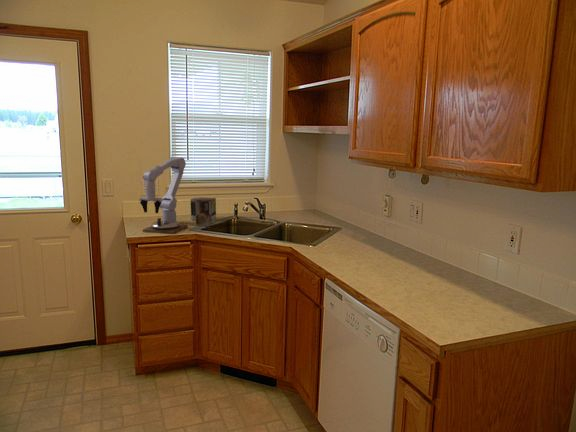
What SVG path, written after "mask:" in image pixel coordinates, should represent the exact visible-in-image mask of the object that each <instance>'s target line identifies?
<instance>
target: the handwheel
mask: <svg viewBox="0 0 576 432" xmlns="http://www.w3.org/2000/svg"><path fill="white" fill-rule="evenodd" d="M176 221H177V220H176ZM176 221H163V220H162V218H160V217H157V219H156V221H154V222H152V223H151V224H150V226H151V227H153V228H159V229H167V228H175V227H178V226H180V225H181V224H180V222H179V221H178V222H176Z"/></svg>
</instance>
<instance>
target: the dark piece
mask: <svg viewBox="0 0 576 432" xmlns="http://www.w3.org/2000/svg"><path fill="white" fill-rule="evenodd" d="M216 198H217V197H203V196H201V197H199V196H196V197H193V198H191V199H190V219H191V221H196V205H195V201H197V200H211V206H212V222H213V221H214V220H216V219H217V202H216V201H217V199H216Z"/></svg>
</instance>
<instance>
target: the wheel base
mask: <svg viewBox="0 0 576 432" xmlns="http://www.w3.org/2000/svg"><path fill="white" fill-rule="evenodd" d="M187 228H188V224H180V226H178V227H175V228H167V229H159V228H153V227H151V225H150V226H147V227H145V228H143V229H142V233H153V234H166V235H167V234H169V235H175V234H177V233H178V232H181V231H183V230H185V229H187Z"/></svg>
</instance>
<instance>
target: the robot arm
mask: <svg viewBox="0 0 576 432" xmlns="http://www.w3.org/2000/svg"><path fill="white" fill-rule="evenodd" d="M186 164H187V163H186V160H185V158H183V157H173V156H171V157H169V158H167V160H166V161H165V162H163V163H162V164H161V165H154V167H153V168H152V169H149V170H148V171H147V170H146V171H144V172H143V175H142V179H143V182H144V185H145V186H144V187H145V188H144V189H145V196H142V197H139V198H138V199H139V200H138V201H139V203H140V205H141V206H142V210H143V213H144V214H145V213H148V202H153V204H154V212H155V214H159V211H160V209H161V211H162V212H161V213H162V216H161V217H162V221H176V222H179V221H177V211H176V210H175V209H176V208H177V202H178V201H177V199H176V195H177V192H178V189H179V187H180V183H181V181H182V179H183V178H182V177H183V175H184V170H185V167H186ZM169 168H170V169H171V171H173V175H172V178H171V181H170V184H169V188H168V190H167V193H166V194H165V195H163V196H162V198H161V197H156V181H157V178H158V177H159V176H162V174H164V171H165V170H166V169H169Z"/></svg>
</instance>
